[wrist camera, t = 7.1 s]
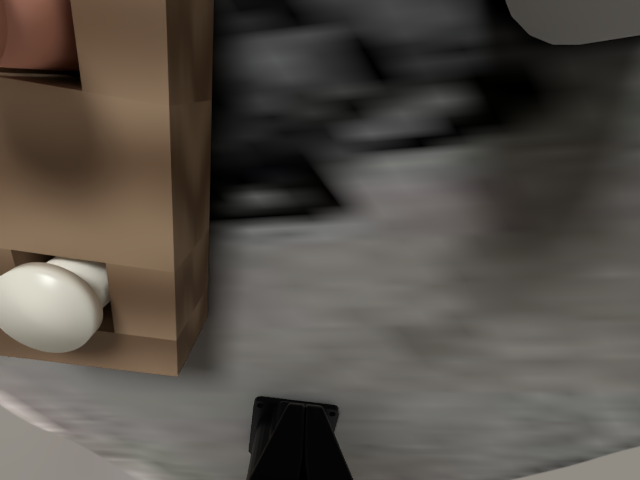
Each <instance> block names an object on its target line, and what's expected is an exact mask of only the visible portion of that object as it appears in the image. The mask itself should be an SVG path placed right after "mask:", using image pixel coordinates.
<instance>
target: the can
mask: <svg viewBox="0 0 640 480" xmlns="http://www.w3.org/2000/svg"><path fill="white" fill-rule="evenodd" d="M505 1H506V4H507V6H508V9H509V11H510V14H511V16H512V17H513V18H514V19H515V20H516V21H517V22H518V23H519V25H520V26H521V27H522V28H523V29H524V30H525V31H526V32H527V33H528V34H529V35H531V36H533V37H535V38H538V39H540V40H543V41H545V42H547V43H550V44H552V45H581V44H587V43H593V42H599V41H606V40H612V39H618V38H624V37H631V36H637V35H640V0H505Z"/></svg>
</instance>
